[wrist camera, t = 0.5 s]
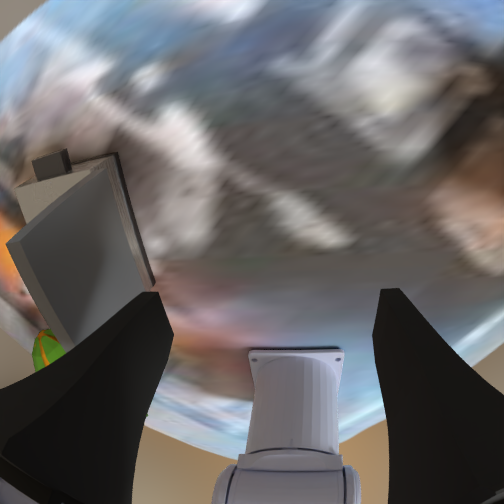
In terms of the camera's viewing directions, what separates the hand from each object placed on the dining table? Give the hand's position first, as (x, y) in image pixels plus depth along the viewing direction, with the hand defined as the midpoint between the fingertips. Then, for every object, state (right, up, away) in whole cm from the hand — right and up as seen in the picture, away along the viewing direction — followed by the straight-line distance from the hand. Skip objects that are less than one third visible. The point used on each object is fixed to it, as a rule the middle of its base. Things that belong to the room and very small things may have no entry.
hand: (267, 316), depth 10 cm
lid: (-9, 0, +4) cm, 10 cm away
